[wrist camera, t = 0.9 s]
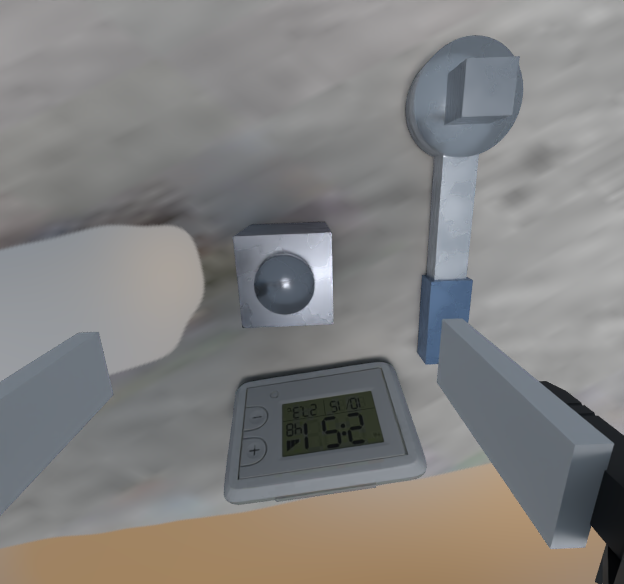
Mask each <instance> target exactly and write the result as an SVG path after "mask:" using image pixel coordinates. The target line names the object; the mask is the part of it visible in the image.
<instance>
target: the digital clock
mask: <svg viewBox="0 0 624 584" xmlns="http://www.w3.org/2000/svg"><path fill="white" fill-rule="evenodd" d="M426 468H427V465H426V460H425V456H424V453H423V449H422V446H421V443H420V441H419V438H418V435H417V432H416V429H415V426H414V423H413V420H412V417H411V414H410V412H409V409H408V406H407V403H406V400H405V397H404V394H403V391H402V388H401V385H400V383H399V380H398V377H397V374H396V371H395V369H394V368H393V366H392V365H390V364H388V363H384V362H373V363H366V364H359V365H352V366H346V367H340V368H333V369H327V370H320V371H314V372H308V373H301V374H295V375H288V376H282V377H275V378H269V379H263V380H257V381H252V382H247V383H244V384H243V385H242V386H241V387H240V388H239V389H238V390H237V392H236V396H235V403H234V411H233V419H232V427H231V434H230V442H229V450H228V458H227V466H226V473H225V483H224V497H225V499H226V500H227V501H228V502H230V503H232V504H237V505H240V504H249V503H256V502H263V501H270V500H276V501H277V502H279V501H286V500H293V499H300V498H307V497H314V496H320V495H327V494H334V493H341V492H348V491H355V490H362V489H369V488H376V486H377V485H381V484H388V483H395V482H401V481H408V480H413V479H417V478H419V477H421V476H422V475H423V474H424V473H425V471H426Z"/></svg>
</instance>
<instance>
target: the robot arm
mask: <svg viewBox="0 0 624 584" xmlns="http://www.w3.org/2000/svg"><path fill="white" fill-rule="evenodd" d="M437 383H438V385H439V386H440V388H441V389H442V391H443V392H444V394H445V395H446V396H447V398H448V399H449V401H450V402H451V404H452V405H453V407H454V408H455V410H456V411H457V413H458V414H459V416H460V417H461V419H462V420H463V421H464V423H465V424H466V426H467V427H468V429H469V430H470V432H471V433H472V435H473V436H474V438H475V439H476V441H477V442H478V443H479V445H480V446H481V448H482V449H483V451H484V452H485V454H486V455H487V457H488V458H489V460H490V461H491V463H492V464H493V465H494V467H495V468H496V470H497V471H498V473H499V474H500V476H501V477H502V478H503V480H504V481H505V483H506V484H507V486H508V487H509V489H510V490H511V492H512V493H513V494H514V496H515V498H516V499H517V501H518V502H519V504H520V505H521V507H522V508H523V510H524V511H525V512H526V514H527V515H528V517H529V518H530V520H531V521H532V523H533V524H534V526H535V527H536V528H537V530H538V532H539V533H540V534H541V536H542V537H543V539H544V540H545V542H546V543H547V545H548V546H549V548H550V549H561V548H582V547H583V548H584V547H585V546H586V543H587V539H588V535H589V532H590V528H591V526H592V527H593V528H594V530H595V531H596V532H597V533H598V534H599V536H600V537H601V538H602V539H603V540H604V541H605V543H606V547H605V550H604V553H603V556H602V560H601V563H600V566H599V570H598V573H597V576H596V579H595V582H596V583H598V584H602V583H603V584H624V435H622V434H621V433H620V432H618V431H617V430H616V429H615V428H613V427H612V426H611V425H609V424H608V423H607V422H606V421H604V420H603V419H602V418H600V417H599V416H595V413H594V412H593V411H591V410H590V409H589V408H587V407H586V406H585V405H582V404H581V402H580V401H578V400H577V399H576V398H574V397H573V396H572V395H571V394H569V393H568V392H567V391H565V390H563V389H561V388H559V387H557V386H555V385H553V384H551V383H549V382H547V381H538V380H536V379H535V378H534V377H533V376H531V375H530V374H529V373H528V372H527V371H525V370H524V369H523V368H522V367H521V366H519V365H518V364H517V363H516V362H514V361H513V360H512V359H511V358H510V357H508V356H507V355H506V354H505V353H504V352H502V351H501V350H500V349H499V348H497V347H496V346H495V345H494V344H493V343H491V342H490V341H489V340H488V339H487V338H485V337H484V336H483V335H482V334H480V333H479V332H478V331H477V330H476V329H474V328H473V327H472V326H471V325H470V324H468V323H467V322H466V321H465V320H463V319H442V329H441V340H440V352H439V363H438V375H437ZM112 396H113V391H112V386H111V382H110V378H109V374H108V370H107V365H106V361H105V357H104V352H103V348H102V344H101V340H100V336H99V332H83V333H77V334H76V335H74V336H72V337H71V338H69V339H68V340H66V341H64V342H63V343H61V344H60V345H58V346H57V347H55V348H54V349H52V350H50V351H48V352H47V353H45V354H44V355H42V356H41V357H39V358H37V359H36V360H34V361H33V362H31V363H29V364H28V365H26V366H25V367H23V368H22V369H20V370H18V371H17V372H15V373H14V374H12V375H10V376H9V377H7V378H6V379H4V380H2V381H1V382H0V515H1V514H2V513H3V512H4V511H5V510H6V509H7V508H8V507H9V506H10V505H11V504H12V503H13V501H14V500H15V499H16V498H17V497H18V496H19V495H20V494H21V493H22V492H23V491H24V490H25V489H26V488H27V487H28V485H29V484H30V483H31V482H32V481H33V480H34V479H35V478H36V477H37V476H38V475H39V474H40V473H41V472H42V471H43V469H44V468H45V467H46V466H47V465H48V464H49V463H50V462H51V461H52V460H53V459H54V458H55V457H56V456H57V454H58V453H59V452H60V451H61V450H62V449H63V448H64V447H65V446H66V445H67V444H68V443H69V442H70V441H71V440H72V438H73V437H74V436H75V435H76V434H77V433H78V432H79V431H80V430H81V429H82V428H83V427H84V426H85V425H86V424H87V422H88V421H89V420H90V419H91V418H92V417H93V416H94V415H95V414H96V413H97V412H98V411H99V410H100V409H101V408H102V406H103V405H104V404H105V403H106V402H107V401H108V400H109V399H110V398H111V397H112Z"/></svg>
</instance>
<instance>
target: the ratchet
mask: <svg viewBox="0 0 624 584" xmlns="http://www.w3.org/2000/svg"><path fill="white" fill-rule="evenodd" d="M519 58H520V56H513V54H512V53H511V52H510V50H509V49H508V48H507V47H506V46H504V45H503V44H502V43H500V42H499V41H497V40H495V39H492V38H490V37H485V36H476V35H474V36H466V37H462V38H459V39H457V40H454V41H452V42H450V43H449V44H447V45H445V46H444V47H443V48H442V49H440V50H439V51H438V52H437V53H436V54H435V55H434V56H433V57H432V58H431V59H430V60H429V61H428V62H427V63H426V64H425V65H424V67H423V68H422V69H421V70H420V71H419V72H418V74H417V75H416V77H415V79H414V80H413V82H412V84H411V86H410V89H409V92H408V95H407V100H406V108H405V113H406V123H407V126H408V130H409V132H410V135H411V137H412V138H413V140H414V142H415V143H416V144H417V146H418V147H419V148H420V149H422V150H423V151H424V152H425V153H427V154H429V155H431V156H433V157H434V167H433V182H432V197H431V212H430V228H429V243H428V258H427V273H426V275H422V285H421V302H420V318H419V334H418V350H417V353H418V354H419V356H420V357H421V359H422V360H423V361H424V363H425V364H438V363H439V352H440V340H441V329H442V319H463V320H465V321H466V322H467V323H468V320H469V311H470V301H471V292H472V283H473V280H471V279H470V278H468V277H466V275H467V265H468V255H469V245H470V235H471V226H472V216H473V206H474V196H475V186H476V176H477V166H478V157H479V154H480V153H483V152H485V151H487V150H488V149H490V148H492V147H493V146H495V145H496V144H497V143H498V142H499V141H500V140H502V139H503V137H504V136H505V135H506V134H507V133H508V131H509V130H510V129H511V127H512V126H513V124H514V122H515V120H516V118H517V116H518V113H519V110H520V107H521V103H522V97H523V80H522V74H521V70H520V67H519Z"/></svg>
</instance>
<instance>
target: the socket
mask: <svg viewBox="0 0 624 584" xmlns="http://www.w3.org/2000/svg"><path fill="white" fill-rule="evenodd" d="M233 242H234V252H235V261H236V271H237V281H238V290H239V300H240V309H241V319H242V328H253V327H278V326H302V325H327V324H333V277H332V232H331V231H330V229H329V227H328V226H327V224H326V222H302V223H276V224H252V225H250V226H248V227H247V228H245V229H244V230H242V231H241V232H239V233H238V234H236V235H234V236H233Z"/></svg>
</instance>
